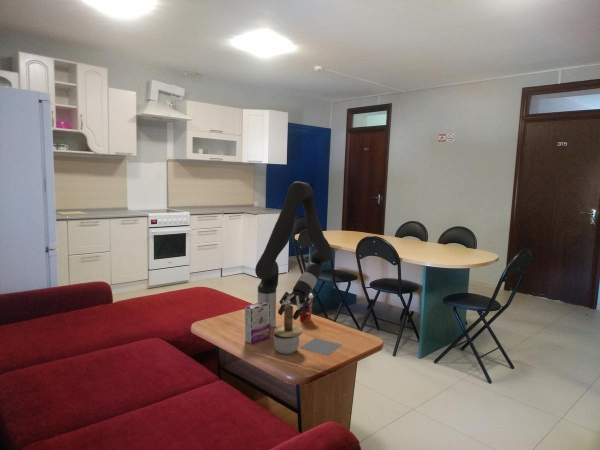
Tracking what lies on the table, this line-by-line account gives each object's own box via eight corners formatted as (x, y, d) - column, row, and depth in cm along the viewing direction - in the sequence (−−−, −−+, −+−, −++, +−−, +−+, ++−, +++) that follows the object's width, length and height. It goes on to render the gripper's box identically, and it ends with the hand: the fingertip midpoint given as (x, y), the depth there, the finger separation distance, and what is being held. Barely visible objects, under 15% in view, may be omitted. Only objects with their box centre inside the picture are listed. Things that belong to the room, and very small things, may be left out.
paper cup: (311, 323, 205) (311, 296, 204) (296, 321, 207) (297, 295, 205) (313, 318, 213) (314, 292, 211) (299, 317, 214) (300, 291, 213)
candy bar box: (262, 335, 187) (263, 300, 185) (270, 338, 184) (270, 303, 182) (244, 341, 179) (244, 305, 177) (251, 344, 175) (251, 308, 174)
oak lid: (268, 333, 168) (268, 307, 167) (284, 325, 178) (284, 301, 177) (292, 339, 161) (292, 312, 160) (307, 330, 171) (308, 305, 170)
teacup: (289, 359, 161) (290, 340, 161) (268, 353, 167) (268, 334, 166) (307, 348, 173) (307, 330, 172) (286, 342, 179) (286, 325, 178)
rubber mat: (299, 348, 172) (299, 347, 172) (315, 338, 184) (315, 337, 184) (328, 356, 165) (328, 355, 165) (342, 345, 177) (342, 344, 177)
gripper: (289, 277, 178) (270, 307, 170) (314, 282, 168) (295, 315, 161) (296, 286, 182) (278, 317, 175) (321, 292, 173) (303, 325, 165)
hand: (286, 316), depth 168 cm, fingers open, 8 cm apart
